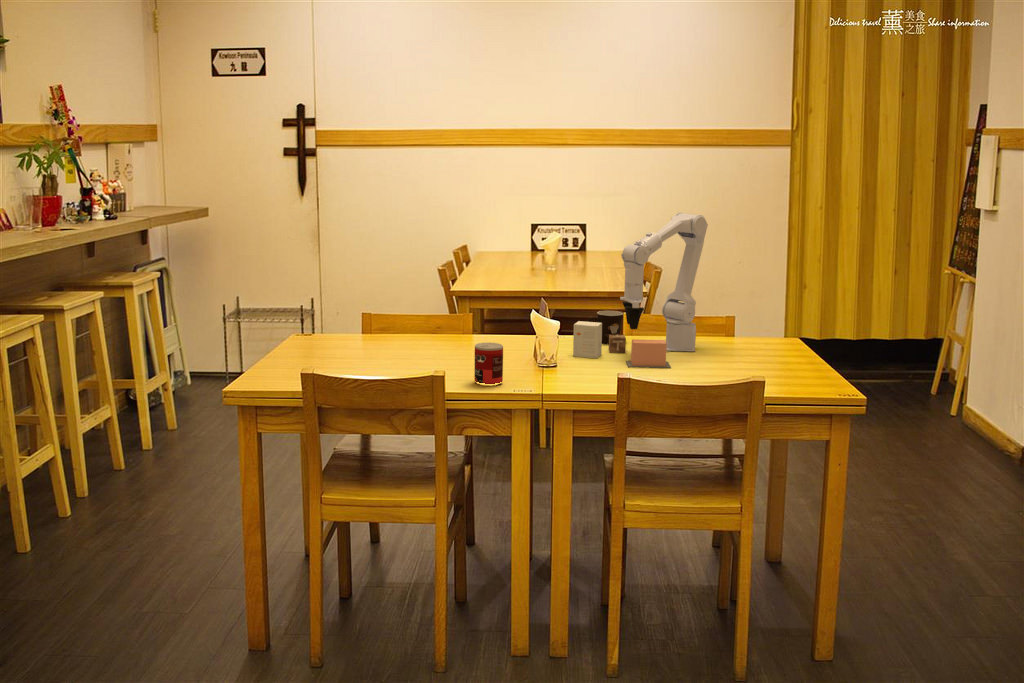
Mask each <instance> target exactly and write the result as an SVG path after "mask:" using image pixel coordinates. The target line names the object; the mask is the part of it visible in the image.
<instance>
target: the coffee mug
mask: <svg viewBox="0 0 1024 683" xmlns="http://www.w3.org/2000/svg"><path fill="white" fill-rule="evenodd" d="M596 314H597V315H596V316H597V317H591V318H589V319H588V320H587V322H592V320H593V321H594V320H595V321H596V322H597V323H602V345H608V346H609V335H621V329H622V324H623V317H624V313H623V312H622V311H616V310H599V311H597V312H596Z"/></svg>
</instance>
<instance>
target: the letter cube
mask: <svg viewBox="0 0 1024 683" xmlns="http://www.w3.org/2000/svg"><path fill="white" fill-rule="evenodd" d="M626 343H627V337H626V335H625V334H620V335H609V345H608V353H609V354H626V345H627V344H626Z"/></svg>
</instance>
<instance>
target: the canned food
mask: <svg viewBox="0 0 1024 683" xmlns="http://www.w3.org/2000/svg"><path fill="white" fill-rule="evenodd" d="M503 374H504V345H503V344H501V343H498V342H479V343H475V345H474V382H475V381H476V382H479V383H485V384H495V383H500V382H502V383H503V380H504V379H503V378H504V377H503Z"/></svg>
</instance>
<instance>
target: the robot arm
mask: <svg viewBox="0 0 1024 683" xmlns="http://www.w3.org/2000/svg"><path fill="white" fill-rule="evenodd" d="M708 225H709V224H708V222H707V220H706V218H705V216H704V215H702V214H694V213H693V214H692V213H683V212H677V213H675V215H673V216H672V217H671V218H670V221H668V222H667V223H666V224H665V225H664V226H662V227H661V228H660V229H659V230H658V231H656V232H647V233H645V236H643V237H642V238H640V239H639V240H636V241H635V243H633V244H631V243H630V244H627V245H626V246H625V247H624V248H623V250H622V253H621V259H622V261H623V267H624V288H623V289H624V294H623V296H620V297H619V299H620V301H621V302H622V306H624V307H623V308H624V310H625V311H624V312H625V318H626V323H627V325H629V326H628V327H629V329H630V330H638V328H639V323H640V318H641V316H642V314H643V312H644V310H645V308H644V307H640V305H641V303H642V302H643V301H644V298H643V297H644V296H643V295H644V294H643V292H644V275H645V274H644V273H645V272H644V271H645V269H644V268H645V264H647V262H648V261H649V258H650V257H651V255H653V254H654V253H655V252H657V251H658V250H660V249H661V248H662V245H663V242H665V241H667V240H669V239H670V238H671V237H673V236H675V235H676V234H678V236H679V237H680V238H681V239H682V240H683V241H684V243H685V247H684V251H683V255H682V258H681V263H680V267H679V271H678V275H677V280H676V283H675V287H674V291H673V292H671V293H669V294H668V295H667V297H666V300H665V301H664V303H663V305H662V308H661V309H662V310H661V314H662V316H663V318H665V320H664V321H665V322H666V332H665V335H666V336H665V342H666V343H667V347H666V352H696V339H697V338H696V337H697V335H696V334H697V327H696V322H692V321H693V320H694V318H695V315H696V304H697V301H696V300H695V298H694V297H693V296H692V291H693V287H694V283H695V280H696V276H697V272H698V268H699V263H700V261H701V256H702V252H703V248H704V244H705V237H706V234H707V229H708Z"/></svg>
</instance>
